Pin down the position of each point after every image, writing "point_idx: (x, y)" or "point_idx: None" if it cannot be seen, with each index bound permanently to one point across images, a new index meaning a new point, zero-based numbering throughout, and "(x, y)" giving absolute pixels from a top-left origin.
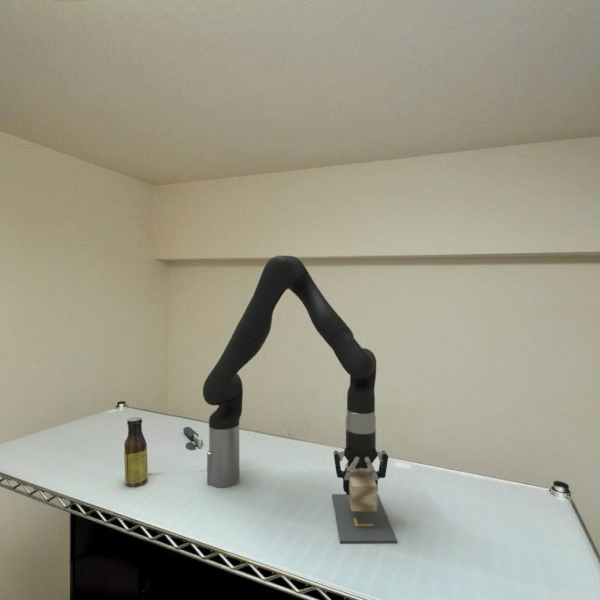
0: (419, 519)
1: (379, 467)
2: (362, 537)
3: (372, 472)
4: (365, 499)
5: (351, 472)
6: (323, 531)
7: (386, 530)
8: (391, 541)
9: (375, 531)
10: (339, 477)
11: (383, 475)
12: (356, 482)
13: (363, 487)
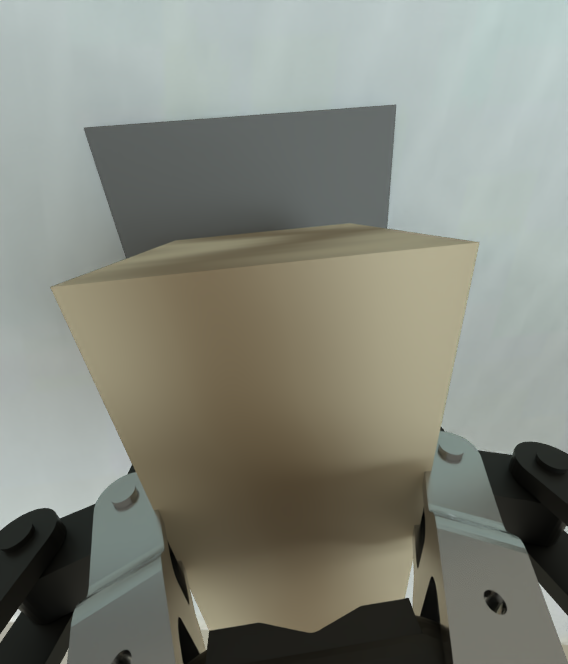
0: (4, 342)
1: (51, 661)
2: (276, 148)
3: (134, 568)
4: (257, 242)
5: (449, 519)
6: (446, 210)
7: (150, 222)
8: (119, 125)
9: (206, 207)
10: (528, 445)
11: (5, 543)
12: (381, 358)
13: (289, 261)
